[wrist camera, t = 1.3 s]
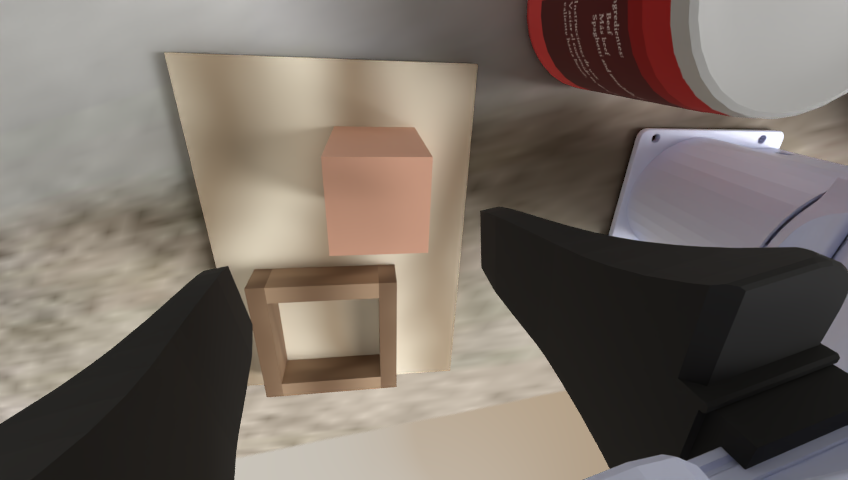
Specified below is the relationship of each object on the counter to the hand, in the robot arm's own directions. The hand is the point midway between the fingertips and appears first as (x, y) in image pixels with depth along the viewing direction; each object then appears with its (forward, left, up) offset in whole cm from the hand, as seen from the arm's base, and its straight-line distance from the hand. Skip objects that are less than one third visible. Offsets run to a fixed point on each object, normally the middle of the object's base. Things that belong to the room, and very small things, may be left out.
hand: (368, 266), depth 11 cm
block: (0, 0, -10) cm, 10 cm away
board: (+2, +5, -11) cm, 12 cm away
